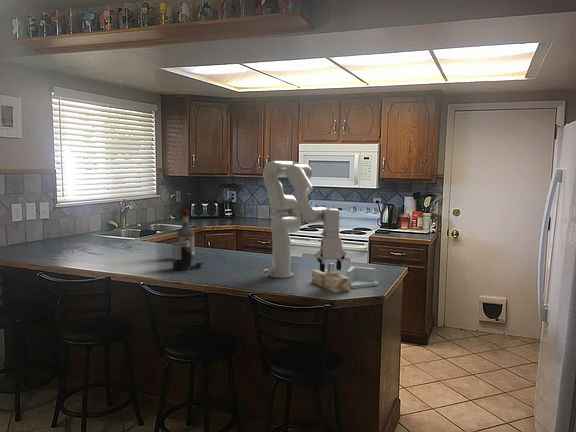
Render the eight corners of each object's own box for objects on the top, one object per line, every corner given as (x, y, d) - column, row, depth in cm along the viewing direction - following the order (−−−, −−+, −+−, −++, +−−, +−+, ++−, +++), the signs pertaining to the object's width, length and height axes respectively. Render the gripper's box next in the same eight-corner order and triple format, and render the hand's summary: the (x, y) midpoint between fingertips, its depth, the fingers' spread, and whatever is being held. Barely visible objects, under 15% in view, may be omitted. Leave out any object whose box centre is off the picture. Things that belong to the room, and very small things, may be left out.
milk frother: (168, 269, 262) (167, 243, 261) (187, 264, 276) (186, 239, 275) (188, 272, 256) (188, 245, 254) (206, 267, 270) (206, 241, 268)
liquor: (177, 258, 297) (176, 209, 294) (191, 257, 301) (191, 209, 298) (180, 260, 289) (179, 211, 285) (195, 259, 292) (194, 210, 289)
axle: (329, 287, 227) (329, 264, 226) (325, 285, 230) (326, 263, 229) (334, 286, 228) (334, 264, 227) (331, 285, 231) (331, 262, 230)
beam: (334, 292, 217) (335, 279, 217) (312, 282, 237) (312, 270, 237) (349, 290, 221) (349, 278, 220) (326, 280, 241) (326, 268, 240)
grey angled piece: (350, 288, 225) (351, 273, 224) (336, 282, 236) (336, 267, 236) (380, 285, 232) (380, 270, 231) (365, 279, 244) (365, 265, 243)
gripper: (318, 236, 219) (318, 273, 221) (350, 234, 227) (350, 270, 229) (311, 234, 226) (310, 270, 228) (342, 232, 234) (341, 267, 235)
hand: (330, 270), depth 228 cm, fingers open, 8 cm apart
